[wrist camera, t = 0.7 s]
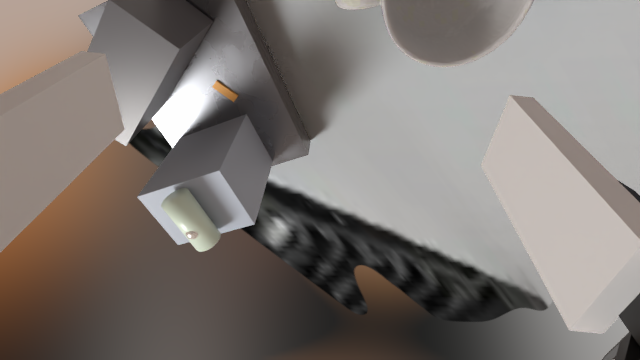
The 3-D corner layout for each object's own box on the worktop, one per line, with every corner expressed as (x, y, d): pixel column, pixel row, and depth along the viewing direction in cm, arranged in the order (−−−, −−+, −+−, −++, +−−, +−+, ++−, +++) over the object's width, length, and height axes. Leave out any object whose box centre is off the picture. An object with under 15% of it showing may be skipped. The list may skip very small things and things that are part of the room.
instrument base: (93, 10, 35) (-50, 65, 22) (220, -54, 31) (136, -31, 19) (205, 174, 46) (152, 274, 33) (310, 140, 42) (295, 239, 29)
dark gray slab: (159, -20, 30) (93, 4, 22) (213, 21, 32) (169, 57, 24) (114, 76, 35) (47, 124, 27) (163, 107, 37) (113, 161, 29)
